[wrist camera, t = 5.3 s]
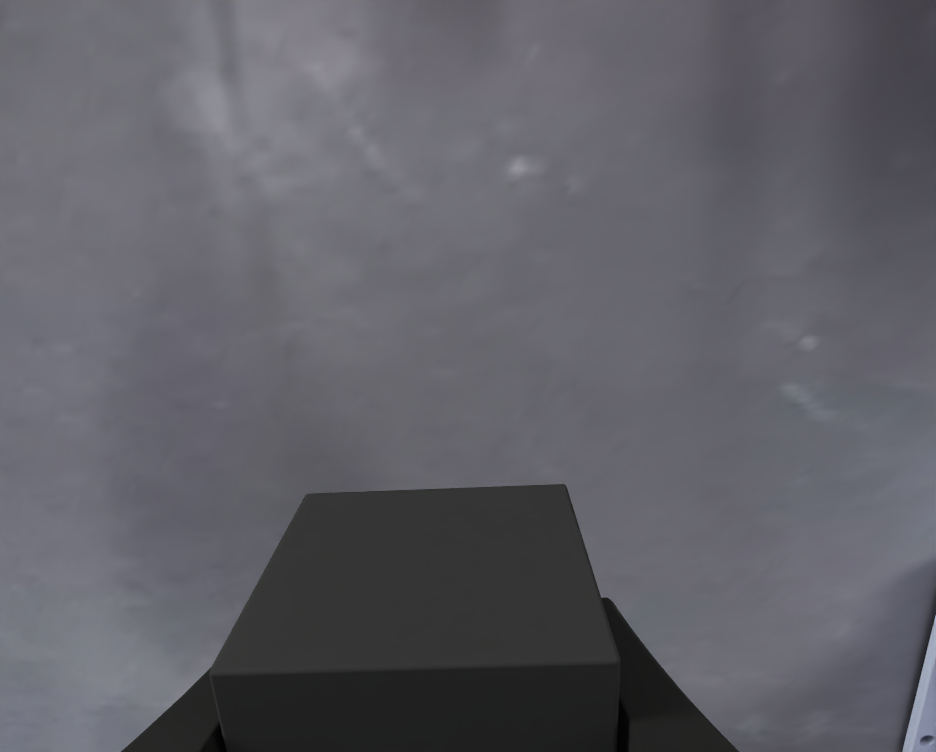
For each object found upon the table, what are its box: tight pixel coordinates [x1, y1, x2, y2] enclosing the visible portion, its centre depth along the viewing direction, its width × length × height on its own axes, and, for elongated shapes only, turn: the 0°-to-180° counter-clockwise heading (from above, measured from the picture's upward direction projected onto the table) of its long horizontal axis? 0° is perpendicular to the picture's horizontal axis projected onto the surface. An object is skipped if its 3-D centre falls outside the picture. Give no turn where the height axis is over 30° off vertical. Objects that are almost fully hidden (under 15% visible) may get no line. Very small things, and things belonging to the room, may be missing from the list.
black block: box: [209, 484, 620, 752], centre depth 10 cm, size 5×5×5 cm
